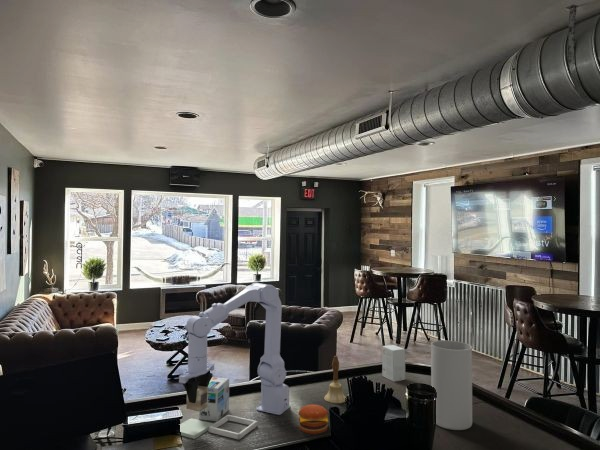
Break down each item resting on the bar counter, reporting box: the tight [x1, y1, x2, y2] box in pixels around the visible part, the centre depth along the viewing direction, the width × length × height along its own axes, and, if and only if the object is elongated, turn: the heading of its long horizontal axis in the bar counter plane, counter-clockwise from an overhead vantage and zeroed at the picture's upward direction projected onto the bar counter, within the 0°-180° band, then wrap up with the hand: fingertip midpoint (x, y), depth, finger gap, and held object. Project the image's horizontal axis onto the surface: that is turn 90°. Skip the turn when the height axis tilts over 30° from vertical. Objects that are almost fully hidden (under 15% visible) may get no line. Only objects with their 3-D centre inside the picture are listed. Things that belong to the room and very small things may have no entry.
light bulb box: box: [198, 376, 230, 422], centre depth 143 cm, size 11×7×11 cm, turn 168°
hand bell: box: [324, 355, 347, 404], centre depth 157 cm, size 8×8×16 cm
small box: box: [381, 344, 406, 383], centre depth 181 cm, size 8×6×13 cm
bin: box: [207, 414, 258, 440], centre depth 132 cm, size 11×10×2 cm
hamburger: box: [298, 404, 329, 435], centre depth 134 cm, size 9×10×7 cm
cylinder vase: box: [430, 339, 473, 431], centre depth 138 cm, size 12×12×25 cm
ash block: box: [186, 386, 208, 413], centre depth 131 cm, size 4×5×6 cm
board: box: [179, 418, 214, 440], centre depth 132 cm, size 9×9×1 cm
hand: (197, 399), depth 131 cm, fingers closed on ash block, 4 cm apart
